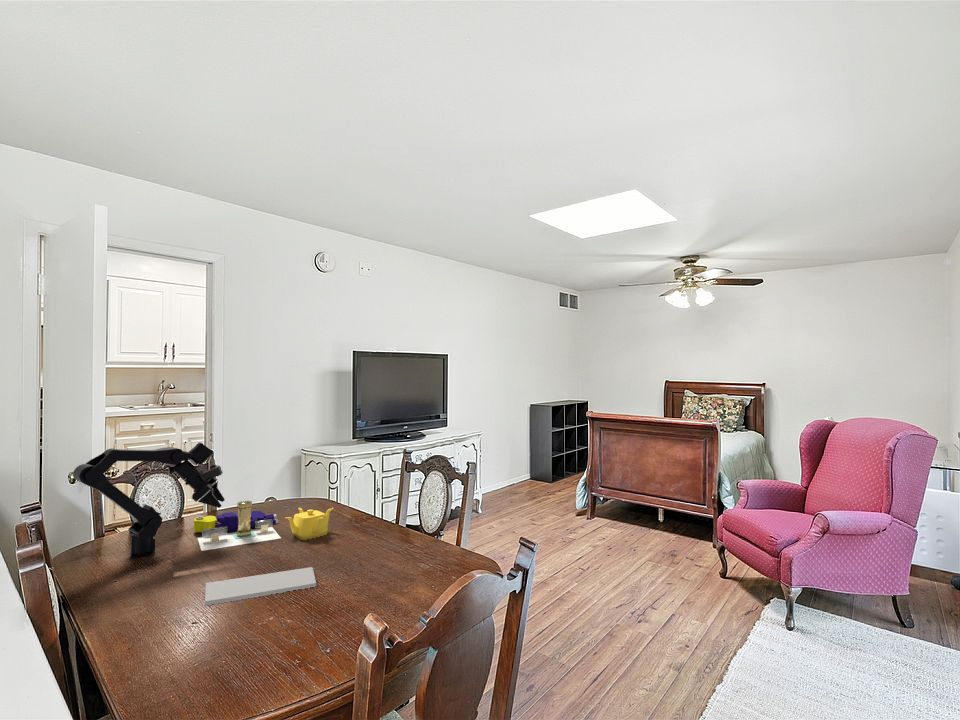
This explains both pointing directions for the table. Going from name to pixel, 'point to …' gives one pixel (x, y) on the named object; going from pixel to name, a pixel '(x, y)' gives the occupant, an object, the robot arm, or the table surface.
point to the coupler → (244, 518)
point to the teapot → (309, 524)
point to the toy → (229, 521)
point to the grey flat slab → (258, 585)
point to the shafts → (216, 532)
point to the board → (237, 539)
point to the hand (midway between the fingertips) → (222, 503)
